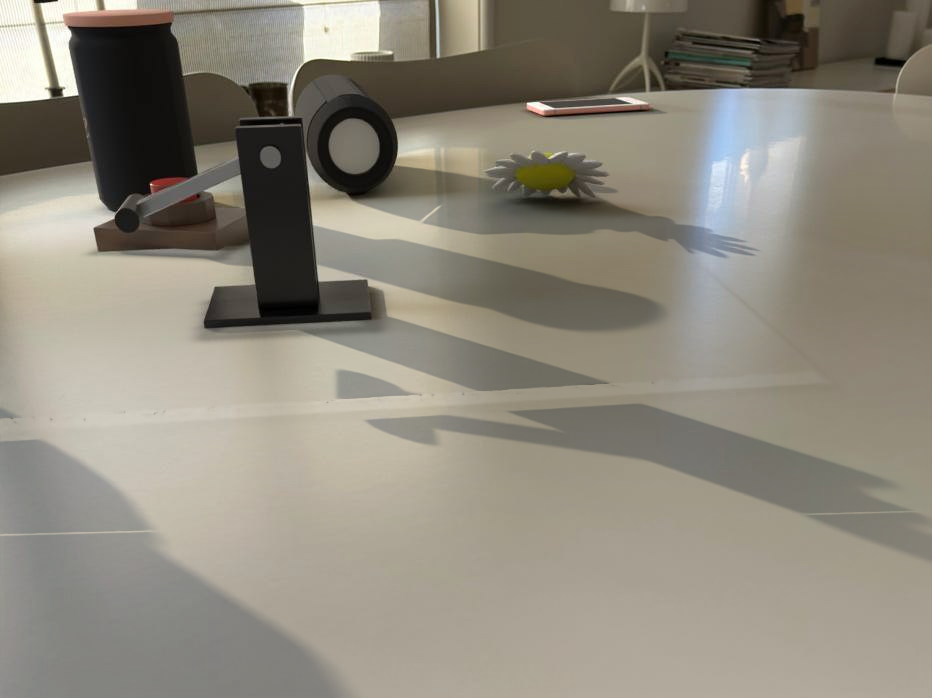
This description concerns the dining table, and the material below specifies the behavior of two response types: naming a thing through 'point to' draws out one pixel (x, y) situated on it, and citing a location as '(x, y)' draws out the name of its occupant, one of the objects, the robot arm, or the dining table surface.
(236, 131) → the bracket
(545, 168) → the decorative flower
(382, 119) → the portable speaker
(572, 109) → the cell phone
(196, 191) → the lever
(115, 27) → the coffee jar
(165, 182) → the button
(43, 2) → the robot arm
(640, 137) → the dining table surface
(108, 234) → the button box
